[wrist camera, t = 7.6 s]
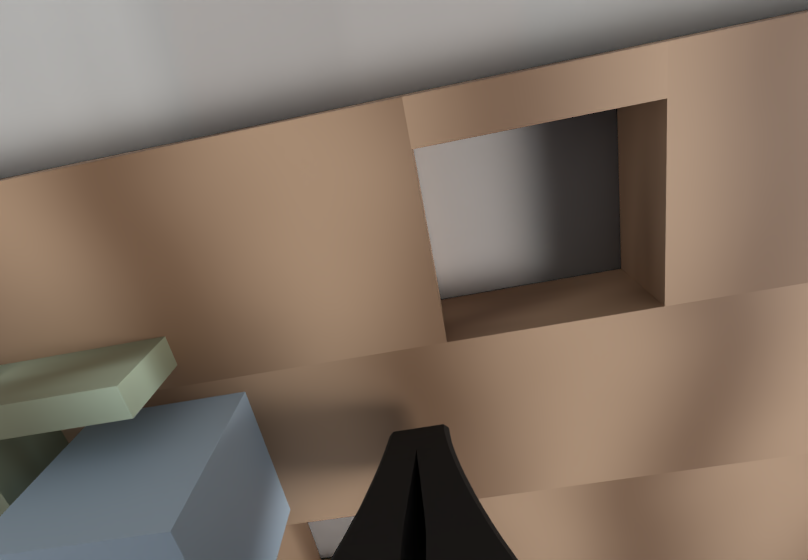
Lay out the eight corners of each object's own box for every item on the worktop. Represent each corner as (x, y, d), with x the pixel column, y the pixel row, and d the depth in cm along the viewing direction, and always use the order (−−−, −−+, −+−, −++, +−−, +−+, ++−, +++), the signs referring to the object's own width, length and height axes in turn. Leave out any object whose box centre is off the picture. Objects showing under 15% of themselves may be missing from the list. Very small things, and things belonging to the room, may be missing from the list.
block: (245, 391, 12) (170, 531, 8) (290, 509, 13) (244, 673, 10) (95, 415, 12) (-43, 561, 8) (155, 528, 14) (61, 693, 10)
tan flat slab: (892, -8, 11) (1199, -68, 6) (805, 517, 16) (935, 659, 12) (-15, 182, 12) (-225, 230, 8) (201, 594, 18) (142, 740, 14)
